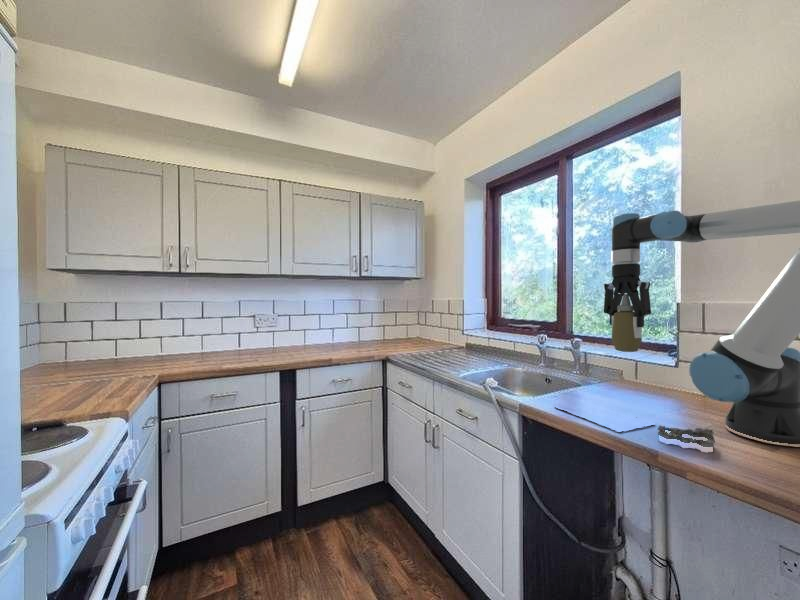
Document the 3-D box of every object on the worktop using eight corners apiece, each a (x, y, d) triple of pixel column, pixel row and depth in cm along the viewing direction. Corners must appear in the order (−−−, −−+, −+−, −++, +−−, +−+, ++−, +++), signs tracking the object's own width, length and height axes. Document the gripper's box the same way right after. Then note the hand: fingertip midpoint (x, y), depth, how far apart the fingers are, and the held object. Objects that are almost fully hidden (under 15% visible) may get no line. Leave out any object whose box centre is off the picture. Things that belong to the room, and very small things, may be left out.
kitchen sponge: (715, 447, 82) (715, 429, 82) (714, 457, 77) (714, 439, 77) (660, 434, 90) (660, 418, 90) (655, 443, 84) (655, 426, 84)
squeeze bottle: (627, 353, 105) (627, 294, 104) (605, 349, 112) (605, 294, 112) (648, 352, 107) (648, 293, 106) (625, 348, 114) (624, 294, 114)
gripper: (666, 261, 101) (667, 339, 102) (606, 266, 120) (607, 333, 120) (649, 260, 99) (649, 340, 99) (590, 266, 117) (590, 334, 117)
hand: (626, 336), depth 109 cm, fingers closed on squeeze bottle, 6 cm apart
